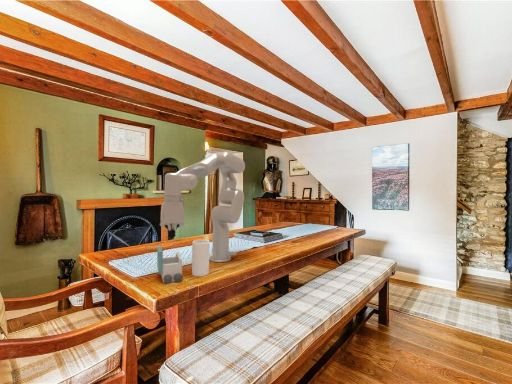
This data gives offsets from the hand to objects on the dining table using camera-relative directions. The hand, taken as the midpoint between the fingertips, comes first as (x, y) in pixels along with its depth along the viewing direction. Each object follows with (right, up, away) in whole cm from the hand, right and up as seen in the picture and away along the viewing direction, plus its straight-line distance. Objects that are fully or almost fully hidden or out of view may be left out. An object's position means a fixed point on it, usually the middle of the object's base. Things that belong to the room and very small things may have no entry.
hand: (171, 238), depth 119 cm
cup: (+12, -19, +7) cm, 23 cm away
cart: (-1, -18, +1) cm, 19 cm away
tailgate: (-4, -14, -1) cm, 15 cm away
